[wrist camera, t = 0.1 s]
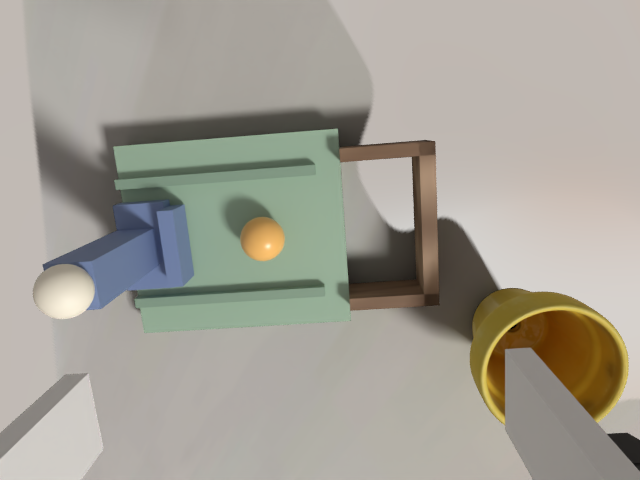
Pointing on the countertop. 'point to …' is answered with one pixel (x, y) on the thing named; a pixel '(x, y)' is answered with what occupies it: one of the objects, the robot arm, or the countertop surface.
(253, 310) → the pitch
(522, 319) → the plant pot
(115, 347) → the countertop surface
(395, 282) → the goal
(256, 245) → the ball
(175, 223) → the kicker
